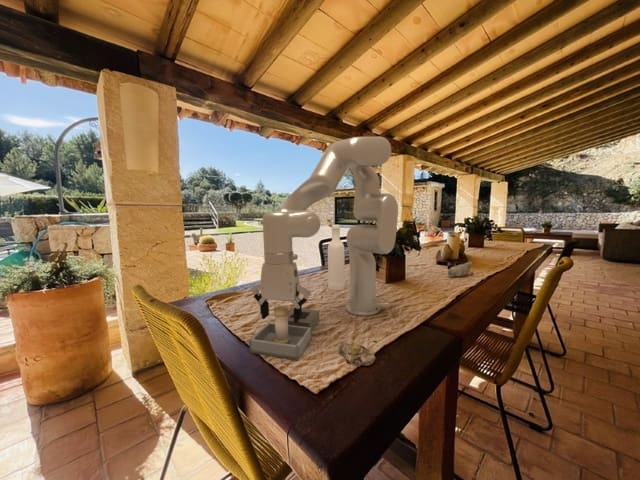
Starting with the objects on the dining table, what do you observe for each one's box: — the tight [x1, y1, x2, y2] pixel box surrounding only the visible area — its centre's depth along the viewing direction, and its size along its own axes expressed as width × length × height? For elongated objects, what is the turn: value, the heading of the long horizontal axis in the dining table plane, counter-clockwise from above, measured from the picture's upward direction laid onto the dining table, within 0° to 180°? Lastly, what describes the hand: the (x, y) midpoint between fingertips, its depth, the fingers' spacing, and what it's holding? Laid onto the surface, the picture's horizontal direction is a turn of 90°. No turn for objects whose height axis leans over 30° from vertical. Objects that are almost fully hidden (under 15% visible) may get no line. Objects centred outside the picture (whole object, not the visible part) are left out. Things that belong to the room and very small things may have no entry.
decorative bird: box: [447, 261, 474, 279], centre depth 137 cm, size 5×16×8 cm, turn 112°
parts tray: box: [248, 322, 313, 361], centre depth 72 cm, size 14×11×4 cm
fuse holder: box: [288, 307, 320, 331], centre depth 84 cm, size 10×10×4 cm
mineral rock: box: [338, 341, 376, 368], centre depth 66 cm, size 11×4×8 cm
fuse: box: [273, 305, 289, 344], centre depth 71 cm, size 4×4×10 cm
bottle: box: [327, 224, 346, 292], centre depth 120 cm, size 8×8×30 cm
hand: (281, 318), depth 71 cm, fingers open, 9 cm apart
